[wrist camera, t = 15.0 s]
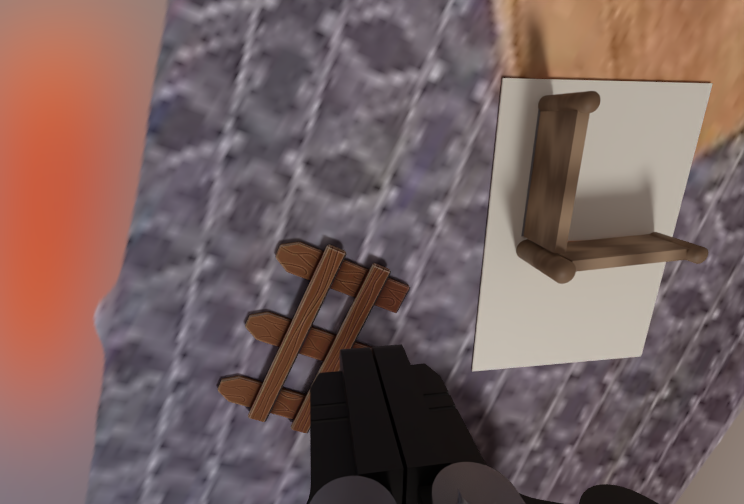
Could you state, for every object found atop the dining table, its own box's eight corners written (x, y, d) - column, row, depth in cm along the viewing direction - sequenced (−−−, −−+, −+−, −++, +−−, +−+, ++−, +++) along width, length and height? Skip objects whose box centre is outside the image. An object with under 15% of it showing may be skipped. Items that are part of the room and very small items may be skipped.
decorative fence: (412, 275, 45) (288, 224, 41) (416, 281, 44) (287, 228, 40) (329, 430, 50) (213, 398, 46) (330, 441, 49) (209, 408, 45)
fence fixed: (535, 95, 40) (583, 90, 33) (557, 95, 40) (609, 90, 33) (514, 259, 46) (551, 284, 39) (533, 258, 46) (573, 283, 39)
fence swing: (541, 257, 45) (575, 277, 40) (542, 242, 45) (577, 260, 39) (656, 245, 47) (705, 262, 41) (659, 230, 47) (709, 246, 41)
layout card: (502, 78, 39) (503, 77, 39) (710, 83, 43) (713, 83, 42) (471, 370, 50) (472, 371, 50) (639, 355, 53) (641, 356, 53)
